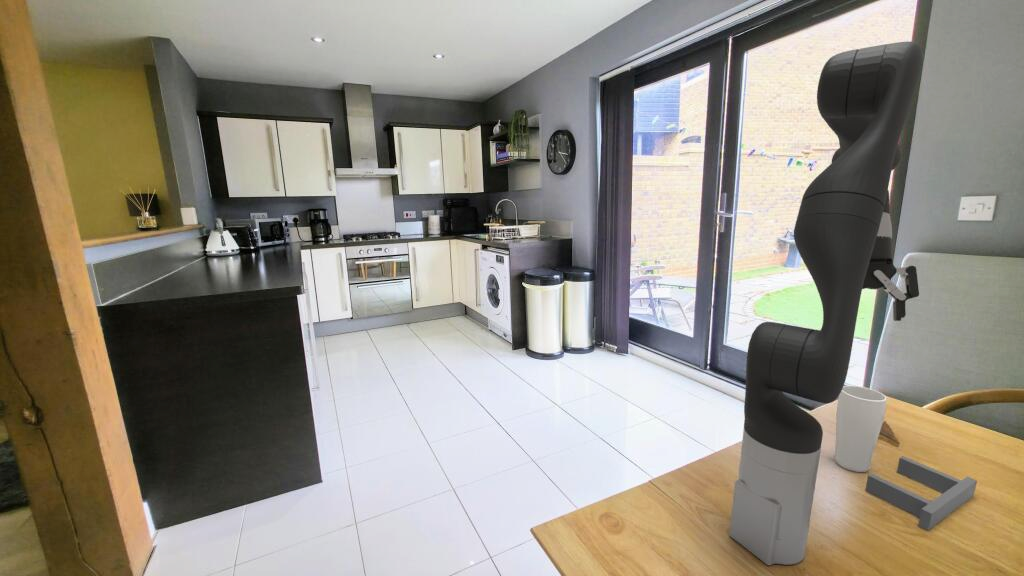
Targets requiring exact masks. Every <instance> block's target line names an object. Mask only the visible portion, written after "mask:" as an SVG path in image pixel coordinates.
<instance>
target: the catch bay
mask: <svg viewBox="0 0 1024 576" xmlns="http://www.w3.org/2000/svg"><path fill="white" fill-rule="evenodd" d="M896 473H897V474H899V475H902V476H905V477H907V478H909V479H910V480H914V481H916V482H917V483H921V484H922V485H924V486H927V487H929V488H932V489H934V490H935V491H938V492H940V493H941V494H939V496H937V497H936V498H935V499H933V500H930V499H927V498H925V497H923V496H921V495H919V494H917V493H915V492H913V491H910V490H907V489H906V488H903V487H901V486H900V485H897V484H896V483H893V482H891V481H888V480H887V479H885V478H883V477H880V476H879V475H875V474H874V473H870V474H868V475H867V481H866V485H865V490H864V491H865V492H867V493H869V494H871V495H873V496H875V497H878V498H879V499H881V500H883V501H885V502H887V503H889V504H891V505H893V506H894V507H897V508H899V509H901V510H902V511H905V512H907V513H909V514H911V515H913V516H915V517H917V518H919V519H918V523H917V526H918V527H919V528H922V529H924V530H926V531H930V530H931V529H932V528H934V527H936V525H938V524H940V522H942V521H943V520H945V519H946V518H948V517H949V516H950V514H953V513H954V512H955V511H956V510H957V509H959V508H960V507H962V506H963V505H964V504H965V503H967V502H968V501H969V500H970V499H972V498H973V497H974V496H975V492H976V487H977V483H978V480H976V479H974V478H972V477H970V476H966V477H964V478H963V479H959V478H956V477H954V476H952V475H950V474H947V473H944V472H942V471H940V470H937V469H935V468H932V467H930V466H928V465H925V464H923V463H920V462H919V461H916V460H913V459H911V458H908V457H907V456H904V455H902V456H900V457H899V459H898V464H897V468H896Z"/></svg>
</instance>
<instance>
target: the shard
mask: <svg viewBox="0 0 1024 576" xmlns="http://www.w3.org/2000/svg"><path fill="white" fill-rule="evenodd" d="M878 439H879V440H881V441H883V442H886V443H888V444H890V445H893V446H894V447H898V446H899V445H901V444H900V442H899V440H898V438H897V437H896V436H895V433H894V431H893V430H892V428H891V426H890V425H889V424H888V423H887V421H886V420H883V424H882V427H881V430H880V433H879V436H878Z"/></svg>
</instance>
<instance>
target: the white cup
mask: <svg viewBox="0 0 1024 576" xmlns="http://www.w3.org/2000/svg"><path fill="white" fill-rule="evenodd" d="M887 399H888V397H887V396H886V395H885V394H883V393H882V392H880V391H878V390H875V389H872V388H869V387H864V386H859V385H849V384H847V385H844V386H843V389H842V391H841V393H840V394H839V396H838V398H837V406H836V420H835V421H836V422H835V426H836V427H835V446H834V454H833V459H834V461H835V462H836V464H838V465H839V466H840V467H842V468H844V469H846V470H848V471H852V472H856V473H866V472H869V470H870V469H871V468H870V467H871V464H872V460H873V459H872V458H873V456H874V452H875V449H876V445H877V442H878V439H879V438H878V436H879V433H880V430H881V427H882V424H883V421H885V420H884V419H885V415H886V409H887V401H888V400H887Z"/></svg>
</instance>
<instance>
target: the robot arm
mask: <svg viewBox="0 0 1024 576" xmlns="http://www.w3.org/2000/svg"><path fill="white" fill-rule="evenodd" d="M922 62H923V50H922V48H921V46H920V45H919V43H917V42H915V41H897V42H892V43H886V44H878V45H874V46H868V47H862V48H858V49H851V50H846V51H842V52H839V53H836V54H835V55H832V56H831V57H829V59H827V61H826V62H825V64H824V66H823V67H822V70H821V73H820V74H819V75H820V76H819V79H818V83H817V91H816V104H817V109H818V112H819V114H820V116H821V118H822V120H824V122H825V123H826V124H827V125H828V127H829V128H830V129H831V130H832V132H833V133H834V134H835V135H836V136H837V139H838V142H839V147H838V149H836V151H835V152H834V153H833V155H832V157H831V163H830V164H829V165H828V166H827V167H826V168H825V169H823V171H822V172H821V173H819V174H818V175H817V176H816V177H815V178H814V179H813V180H812V182H810V184H809V185H808V186H807V188H806V189H805V191H804V193H803V195H802V198H801V202H800V206H799V209H798V214H797V217H796V221H795V224H794V229H793V240H794V243H795V246H796V249H797V251H798V253H799V256H800V257H801V259H802V261H803V263H804V266H805V267H806V269H807V270H808V272H809V274H810V277H811V278H812V280H813V282H814V284H815V287H816V290H817V292H818V295H819V298H820V301H821V306H822V313H823V314H822V315H823V317H822V319H823V320H822V325H821V326H822V327H821V328H820V329H814V328H808V327H803V326H802V327H801V326H799V325H798V326H797V325H791V324H786V323H780V322H774V321H764V322H762V323H759V324H758V325H757V326H756V328H754V329H753V330H754V331H753V332H752V334H751V335H750V339H749V342H748V347H747V353H746V366H745V367H746V370H745V392H744V394H745V395H744V403H743V405H744V406H743V407H744V409H743V412H744V414H743V415H744V423H743V432H742V442H741V448H740V449H741V451H740V459H739V465H738V466H739V469H738V475H737V479H736V480H735V482H734V486H733V487H734V488H733V496H732V506H731V514H730V515H731V516H730V525H729V534H728V535H729V537H731V538H732V539H733V540H734V541H735V542H737V543H739V545H740V546H742V547H744V548H745V549H746V550H747V551H749V552H750V553H751V554H753V555H754V556H755V557H757V559H759V560H760V561H762V562H763V563H764V564H766V565H767V566H772V565H775V564H778V565H783V566H784V565H786V566H787V565H796V564H799V563H800V562H801V561H803V559H804V558H805V557H806V556H805V555H806V550H807V542H808V537H809V531H810V530H809V529H810V522H811V516H812V510H813V503H814V502H813V501H814V497H815V489H816V482H817V477H818V476H817V475H818V469H819V463H820V456H821V451H822V445H823V444H822V443H823V437H824V435H823V433H824V432H823V426H822V425H821V423H820V422H819V421H818V419H816V417H814V416H813V415H812V414H810V413H809V412H807V411H806V410H804V409H803V408H801V407H799V406H798V405H797V404H795V403H794V401H793V402H792V400H790V399H789V397H787V395H786V394H788V395H793V396H796V397H800V398H802V399H806V400H810V401H813V402H817V403H822V404H831V403H833V402H835V401H836V400H838V397H839V394H840V393H841V391H842V389H843V386H845V382H846V379H847V376H848V371H849V365H850V361H851V355H852V350H853V343H854V337H855V331H856V326H857V318H858V312H859V306H860V302H861V301H860V300H861V295H862V290H866V289H867V290H879V289H883V291H884V292H886V293H887V294H888V295H889V296H890V297H891V298H893V299H894V301H892V314H893V316H892V317H893V321H894V322H900V321H902V319H903V318H905V317H906V313H907V312H906V301H907V300H910V299H914V298H917V297H919V296H920V290H919V281H918V273H917V267H916V266H915V265H909V266H906V267H905V266H903V267H896V266H895V265H894V262H893V261H894V260H893V259H894V257H893V225H892V220H891V215H890V213H891V212H890V208H891V207H890V191H889V184H890V181H891V175H892V172H893V170H895V169H896V168H897V167H898V166H899V164H900V162H901V158H902V150H901V147H900V144H899V141H900V138H901V136H902V133H903V129H904V126H905V124H906V119H907V117H908V113H909V111H910V108H911V105H912V101H913V98H914V95H915V92H916V89H917V86H918V83H919V78H920V76H921V70H922V64H923V63H922ZM896 274H898V275H899V278H901V279H904V282H905V290H906V292H903V291H902V290H901V289H899V288H898V286H897V285H896V284H895V283H894V282H893V281H892V280H891V279H892V278H894V276H895V275H896ZM785 393H786V394H785Z"/></svg>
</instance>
